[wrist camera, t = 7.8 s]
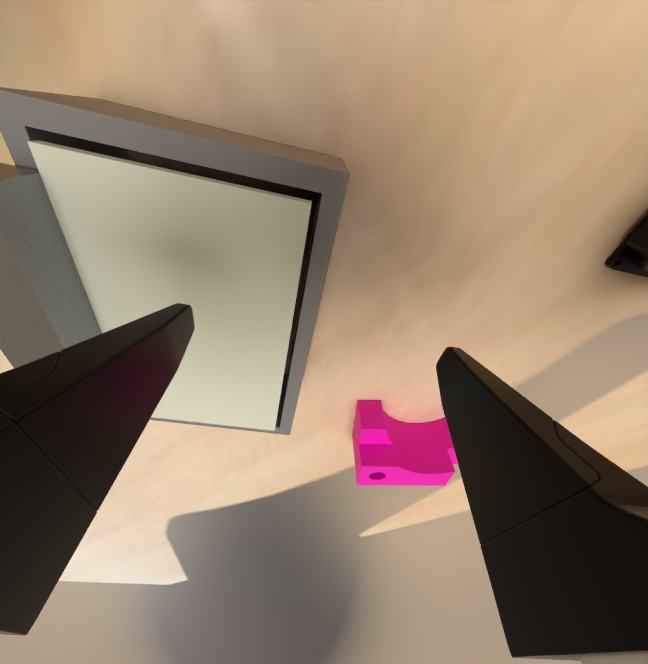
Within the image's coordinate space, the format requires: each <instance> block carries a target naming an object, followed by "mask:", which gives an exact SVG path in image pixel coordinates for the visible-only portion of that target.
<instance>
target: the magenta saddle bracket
mask: <svg viewBox="0 0 648 664" xmlns="http://www.w3.org/2000/svg"><path fill="white" fill-rule="evenodd" d="M352 436H353V446H354V457H355V468H356V478H357V485H446V484H447V482H448V481H449V479H450V478H451V477H452V475H453V474H454V472H455V470H454V467H453V464H458V461H457V458H456V454H455V451H454V447H453V443H452V440H451V436H450V432H449V429H448V425H447V421H446V418H443V419H440V420H437V421H433V422H428V423H419V424H413V423H404V422H400V421H397V420H394V419H392V418H391V417H389V416H388V415H387V414H386V413H385V412H384V411H383V409H382V405H381V401H378V400H358V403H357V410H356V416H355V422H354V429H353V435H352Z"/></svg>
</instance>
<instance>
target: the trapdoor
mask: <svg viewBox="0 0 648 664" xmlns="http://www.w3.org/2000/svg"><path fill="white" fill-rule="evenodd" d="M27 142H28V145H29V147H30V150H31V152H32V155H33V158H34V160H35V163H36V165H37V168H38V170H39V171H37V170H32V169H28V168H23V167H18V166H13V165H9V164H4V163H0V349H1V351H2V352H3V353H4V355H5V356H6V358H7V359H8V360H9V362H10V363H11V364H12V366H13V367H14V369H15V368H17V367H20V366H22V365H25V364H27V363H30V362H33V361H35V360H38V359H40V358H43V357H45V356H48V355H50V354H52V353H55V352H60V351H61V350H62V349H65V348H67V347H70V346H72V345H75V344H77V343H80V342H82V341H85V340H87V339H90V338H92V337H95V336H97V335H99V334H102V333H104V332H107V331H109V330H112V329H114V328H117V327H119V326H122V325H124V324H127V323H129V322H132V321H134V320H136V319H139V318H141V317H144V316H146V315H149V314H151V313H154V312H156V311H159V310H161V309H164V308H166V307H168V306H171V305H173V304H176V303H182V304H188V305H190V306H191V307H192V310H193V317H194V324H195V328H194V332H193V334H192V337H191V339H190V342H189V344H188V347H187V349H186V351H185V354H184V356H183V359H182V361H181V363H180V366H179V368H178V370H177V372H176V374H175V376H174V377H173V379H172V381H171V383H170V384H169V386H168V388H167V390H166V391H165V393H164V395H163V397H162V398H161V400H160V402H159V404H158V405H157V407H156V409H155V411H154V412H153V414H152V416H151V417H154V418H163V419H172V420H181V421H190V422H199V423H208V424H217V425H226V426H235V427H244V428H253V429H262V430H271V431H275V426H276V419H277V413H278V407H279V401H280V395H281V389H282V383H283V376H284V370H285V364H286V358H287V352H288V346H289V340H290V333H291V327H292V321H293V315H294V309H295V303H296V297H297V290H298V284H299V278H300V272H301V266H302V260H303V253H304V247H305V241H306V235H307V229H308V223H309V217H310V210H311V204H312V201H310V200H305V199H301V198H296V197H292V196H287V195H283V194H278V193H274V192H269V191H265V190H261V189H256V188H252V187H247V186H243V185H238V184H234V183H229V182H225V181H220V180H216V179H211V178H207V177H202V176H198V175H193V174H189V173H184V172H180V171H175V170H171V169H166V168H162V167H157V166H153V165H148V164H144V163H139V162H135V161H130V160H126V159H121V158H117V157H112V156H108V155H103V154H99V153H94V152H90V151H85V150H81V149H76V148H72V147H67V146H63V145H58V144H54V143H49V142H45V141H27Z"/></svg>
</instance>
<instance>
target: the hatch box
mask: <svg viewBox="0 0 648 664" xmlns="http://www.w3.org/2000/svg"><path fill="white" fill-rule="evenodd" d="M0 130H1V133H2V135H3V137H4V140H5V142H6V144H7V147H8V149H9V151H10V154H11V156H12V158H13V160H14V163H15V165H16V166H18V167H23V168H28V169H32V170H37V171H39V170H38V168H37V165H36V163H35V160H34V158H33V155H32V152H31V150H30V147H29V145H28V142H27V141H45V142H49V143H54V144H58V145H63V146H67V147H72V148H76V149H81V150H85V151H90V152H94V153H99V154H103V155H108V156H112V157H117V158H121V159H126V160H129V159H128V154H127V150H126V149H129V150H133V151H138V152H142V153H147V154H151V155H155V156H160V157H164V158H169V159H173V160H177V161H182V162H186V163H191V164H195V165H199V166H204V167H208V168H213V169H217V170H221V171H226V172H230V173H235V174H239V175H243V176H248V177H252V178H257V179H261V180H265V181H270V182H274V183H279V184H283V185H287V186H292V187H296V188H301V189H305V190H309V191H314V192H318V193H319V197H318V202H317V208H316V214H315V220H314V225H313V231H312V237H311V242H310V248H309V254H308V260H307V265H306V271H305V277H304V283H303V288H302V294H301V300H300V305H299V311H298V317H297V323H296V328H295V334H294V340H293V345H292V351H291V357H290V363H289V368H288V374H284V376H283V383H282V389H281V395H280V401H279V407H278V413H277V419H276V426H275V431H271V430H262V429H253V428H244V427H235V426H226V425H217V424H208V423H199V422H190V421H181V420H172V419H163V418H154V417H151V418H150V420H157V421H166V422H175V423H184V424H193V425H202V426H212V427H221V428H230V429H239V430H248V431H257V432H266V433H275V434H285V435H290V431H291V427H292V423H293V418H294V414H295V410H296V405H297V401H298V396H299V392H300V388H301V383H302V379H303V375H304V370H305V366H306V361H307V357H308V353H309V348H310V344H311V340H312V335H313V331H314V326H315V322H316V318H317V313H318V309H319V305H320V300H321V296H322V291H323V287H324V283H325V278H326V274H327V270H328V265H329V261H330V256H331V252H332V248H333V243H334V239H335V234H336V230H337V226H338V221H339V217H340V213H341V208H342V204H343V199H344V195H345V191H346V186H347V182H348V178H349V172H348V170H347V168H346V166H345V164H344V162H343V161H342V159H341V158H337V157H333V156H328V155H324V154H320V153H316V152H312V151H308V150H304V149H300V148H296V147H292V146H288V145H284V144H280V143H276V142H272V141H268V140H263V139H259V138H255V137H251V136H247V135H243V134H239V133H235V132H231V131H227V130H223V129H219V128H215V127H211V126H207V125H202V124H198V123H194V122H190V121H186V120H182V119H178V118H174V117H170V116H166V115H162V114H158V113H154V112H150V111H146V110H141V109H137V108H133V107H129V106H125V105H121V104H117V103H113V102H109V101H105V100H101V99H96V98H87V97H79V96H70V95H62V94H53V93H44V92H36V91H27V90H19V89H10V88H1V87H0Z"/></svg>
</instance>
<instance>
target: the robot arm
mask: <svg viewBox="0 0 648 664" xmlns="http://www.w3.org/2000/svg"><path fill="white" fill-rule="evenodd" d="M605 265H606V266H607V267H609V268H611V269H613V270H618V271H622V272H627V273H632V274H636V275H641V276H645V277H648V215H647V216H646V218H645V219H644V220H643V221H642V222H641V223H640V224H639V225H638V226H637V228H636V229H635V230H634V231H633V232H632V233H631V234H630V235H629V236H628V238H627V239H626V240H625V241H624V242H623V243H622V244H621V245H620V246H619V248H618V249H617V250H616V251H615V252H614V253H613V254H612V255H611V256H610V258H609V259H608V260H607V261H606V263H605ZM194 328H195V324H194V317H193V310H192V307H191V306H190V305H188V304H182V303H176V304H173V305H171V306H168V307H166V308H164V309H161V310H159V311H156V312H154V313H151V314H149V315H146V316H144V317H141V318H139V319H136V320H134V321H132V322H129V323H127V324H124V325H122V326H119V327H117V328H114V329H112V330H109V331H107V332H104V333H102V334H99V335H97V336H95V337H92V338H90V339H87V340H85V341H82V342H80V343H77V344H75V345H72V346H70V347H67V348H65V349H62V350H61V351H60V352H55V353H52V354H50V355H48V356H45V357H43V358H40V359H38V360H35V361H33V362H30V363H27V364H25V365H22V366H20V367H17V368H15V369H12V370H9V371H6V372H3V373H1V374H0V634H7V635H26V634H27V633H28V632H29V630H30V629H31V627H32V626H33V624H34V622H35V621H36V619H37V617H38V615H39V614H40V612H41V610H42V608H43V607H44V605H45V603H46V601H47V600H48V598H49V596H50V594H51V593H52V591H53V589H54V587H55V585H56V584H57V582H58V580H59V578H60V577H61V575H62V573H63V571H64V570H65V568H66V566H67V564H68V563H69V561H70V559H71V557H72V556H73V554H74V552H75V550H76V549H77V547H78V545H79V543H80V541H81V540H82V538H83V536H84V534H85V533H86V531H87V529H88V527H89V526H90V524H91V522H92V520H93V519H94V517H95V515H96V513H97V510H98V509H99V508H100V506H101V504H102V502H103V501H104V499H105V497H106V495H107V494H108V492H109V490H110V488H111V486H112V485H113V483H114V481H115V479H116V478H117V476H118V474H119V472H120V471H121V469H122V467H123V465H124V464H125V462H126V460H127V458H128V457H129V455H130V453H131V451H132V449H133V448H134V446H135V444H136V442H137V441H138V439H139V437H140V435H141V434H142V432H143V430H144V428H145V427H146V425H147V423H148V421H149V420H150V418H151V416H152V414H153V412H154V411H155V409H156V407H157V405H158V404H159V402H160V400H161V398H162V397H163V395H164V393H165V391H166V390H167V388H168V386H169V384H170V383H171V381H172V379H173V377H174V376H175V374H176V372H177V370H178V368H179V366H180V363H181V361H182V359H183V356H184V354H185V351H186V349H187V347H188V344H189V342H190V339H191V337H192V334H193V332H194ZM436 370H437V376H438V383H439V389H440V395H441V401H442V406H443V410H444V414H445V418H446V421H447V425H448V429H449V432H450V436H451V440H452V443H453V447H454V451H455V454H456V458H457V461H458V465H459V469H460V472H461V476H462V480H463V483H464V487H465V491H466V494H467V498H468V501H469V505H470V509H471V512H472V516H473V520H474V523H475V527H476V530H477V534H478V538H479V541H480V544H481V549H482V553H483V557H484V560H485V564H486V568H487V571H488V575H489V578H490V582H491V586H492V589H493V593H494V596H495V600H496V604H497V608H498V611H499V615H500V619H501V622H502V626H503V629H504V633H505V637H506V640H507V644H508V647H509V650H510V653H511V656H512V657H513V658H534V659H557V660H577V661H578V660H579V661H581V664H648V487H647V486H646V485H644V484H643V483H642V482H640V481H639V480H637V479H636V478H634V477H633V476H631V475H630V474H629V473H627V472H626V471H624V470H623V469H621V468H620V467H618V466H617V465H616V464H614V463H613V462H611V461H610V460H608V459H607V458H606V457H604V456H603V455H601V454H600V453H599V452H597V451H596V450H594V449H593V448H591V447H590V446H589V445H587V444H586V443H584V442H583V441H582V440H580V439H579V438H578V437H576V436H575V435H574V434H572V433H571V432H570V431H568V430H567V429H566V428H564V427H563V426H562V425H560V424H559V423H558V422H556V421H555V420H553V419H552V418H551V417H550V416H548V415H547V414H546V413H544V412H543V411H542V410H541V409H539V408H538V407H537V406H535V405H534V404H533V403H531V402H530V401H529V400H527V399H526V398H525V397H523V396H522V395H521V394H519V393H518V392H517V391H515V390H514V389H513V388H512V387H510V386H509V385H508V384H506V383H505V382H504V381H502V380H501V379H500V378H498V377H497V376H496V375H495V374H493V373H492V372H491V371H489V370H488V369H487V368H485V367H484V366H483V365H481V364H480V363H479V362H477V361H476V360H475V359H473V358H472V357H471V356H470V355H468V354H467V353H466V352H464V351H463V350H462V349H460V348H456V347H447V348H446V349H445V351H444V352H443V354H442V356H441V357H440V359H439V360H438V362H437V365H436Z"/></svg>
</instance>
